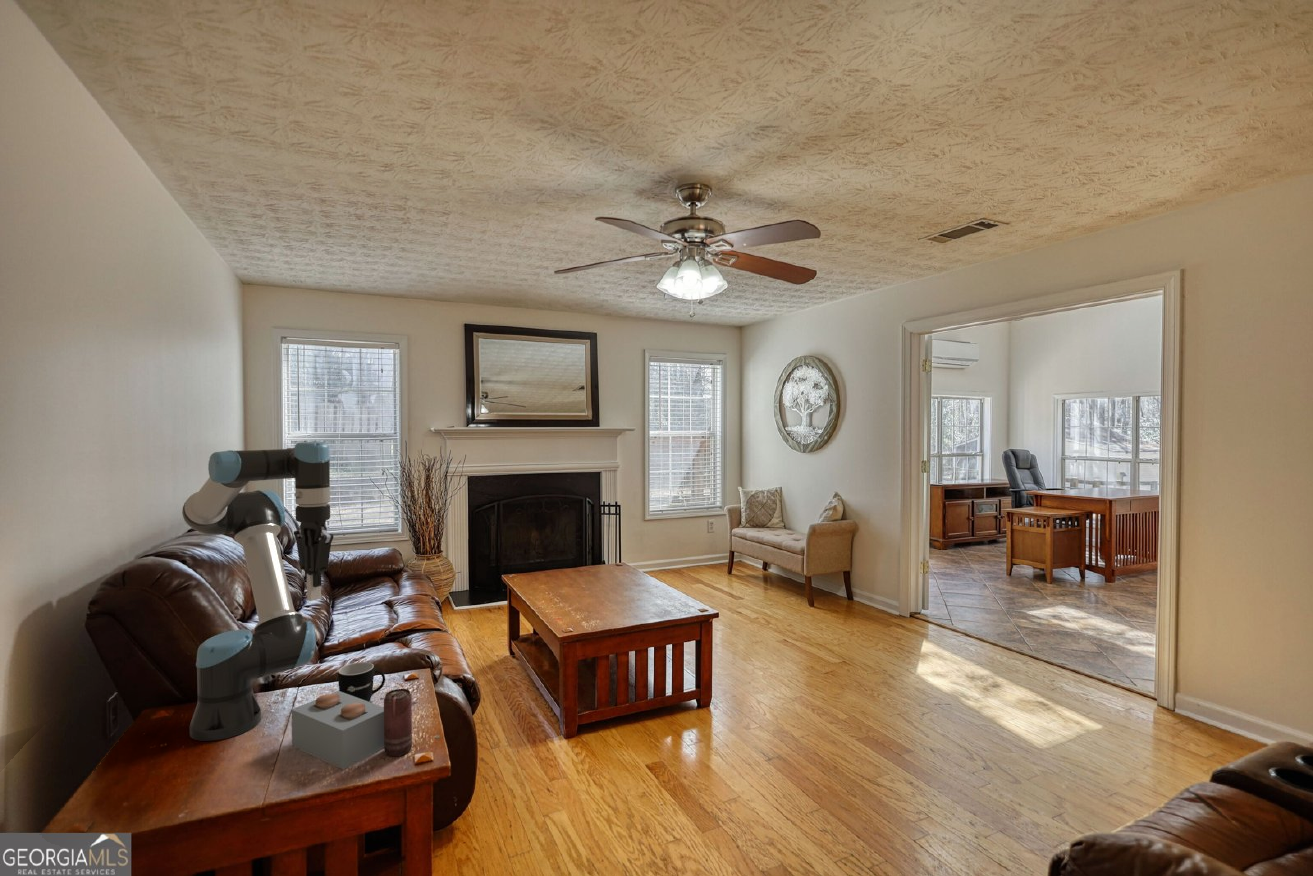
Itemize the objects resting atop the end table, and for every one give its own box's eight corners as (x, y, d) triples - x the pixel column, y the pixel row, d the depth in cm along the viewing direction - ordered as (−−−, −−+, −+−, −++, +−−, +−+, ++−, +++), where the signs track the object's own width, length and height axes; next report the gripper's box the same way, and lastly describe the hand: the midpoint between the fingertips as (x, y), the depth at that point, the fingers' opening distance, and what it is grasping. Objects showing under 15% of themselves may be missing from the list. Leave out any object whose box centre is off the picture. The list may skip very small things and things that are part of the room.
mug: (341, 715, 167) (341, 677, 166) (335, 702, 174) (335, 666, 174) (389, 703, 174) (389, 667, 174) (381, 691, 181) (381, 657, 181)
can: (382, 760, 145) (382, 701, 144) (386, 746, 151) (385, 689, 151) (410, 756, 147) (410, 697, 146) (412, 742, 153) (412, 686, 152)
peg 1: (311, 739, 153) (311, 700, 152) (331, 730, 157) (331, 692, 157) (324, 745, 150) (323, 705, 150) (344, 735, 155) (344, 696, 154)
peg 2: (336, 750, 148) (336, 709, 147) (356, 740, 152) (356, 701, 152) (350, 756, 145) (349, 715, 145) (370, 746, 150) (369, 706, 149)
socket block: (292, 746, 151) (291, 709, 151) (338, 725, 161) (338, 690, 161) (343, 769, 141) (342, 730, 141) (389, 745, 151) (388, 709, 151)
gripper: (282, 504, 154) (283, 599, 155) (313, 508, 148) (315, 607, 148) (312, 500, 161) (313, 591, 161) (343, 504, 154) (344, 599, 155)
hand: (314, 599), depth 155 cm, fingers closed
